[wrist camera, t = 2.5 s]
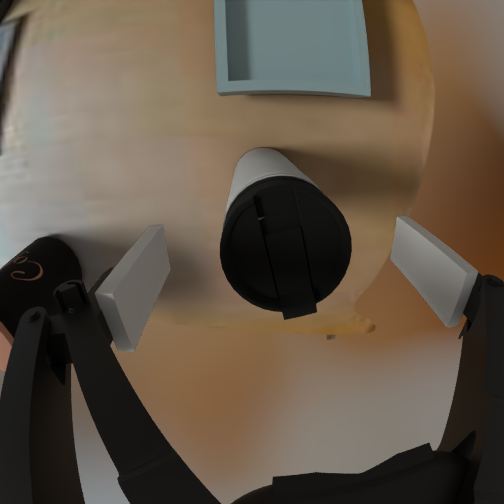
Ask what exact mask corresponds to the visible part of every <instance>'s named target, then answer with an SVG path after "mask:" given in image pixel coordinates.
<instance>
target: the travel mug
mask: <svg viewBox="0 0 504 504" xmlns="http://www.w3.org/2000/svg"><path fill="white" fill-rule="evenodd" d="M351 252H352V245H351V235H350V231H349V227H348V225H347V222H346V220H345V218H344V216H343V214H342V213H341V212H340V211H339V209H338V208H337V207H336V205H335V204H334V203H333V202H332V201H331V200H330V199H329V198H328V197H327V196H326V195H325V194H324V192H323V191H322V190H321V189H320V188H319V187H318V186H317V185H316V184H315V183H314V182H313V181H311V180H310V179H309V178H308V177H307V176H306V175H305V174H304V173H303V172H302V171H301V170H299V169H298V168H297V167H296V166H295V165H294V164H293V163H292V162H291V161H289V160H288V159H287V158H286V157H285V156H284V155H283V154H281V153H280V152H279V151H277V150H275V149H272V148H267V147H260V148H255V149H252V150H250V151H248V152H246V153H245V154H244V155H243V156H242V157H241V158H240V160H239V161H238V163H237V165H236V168H235V172H234V177H233V181H232V186H231V190H230V194H229V199H228V203H227V208H226V212H225V217H224V222H223V232H222V237H221V242H220V259H221V264H222V269H223V271H224V273H225V276H226V278H227V280H228V282H229V283H230V284H231V286H232V287H233V289H234V290H235V291H236V292H237V293H238V294H239V295H240V296H241V297H242V298H244V299H245V300H247V301H248V302H250V303H251V304H253V305H255V306H258V307H260V308H262V309H266V310H270V311H277V312H282V313H283V317H284V320H286V319H291V318H296V317H301V316H305V315H308V314H312V313H316V312H317V308H316V303H318V302H320V301H322V300H323V299H325V298H326V297H327V296H328V295H330V294H331V293H332V292H333V291H334V290H335V288H336V287H337V286H338V285H339V284H340V282H341V280H342V279H343V277H344V275H345V274H346V271H347V268H348V266H349V263H350V258H351Z"/></svg>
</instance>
